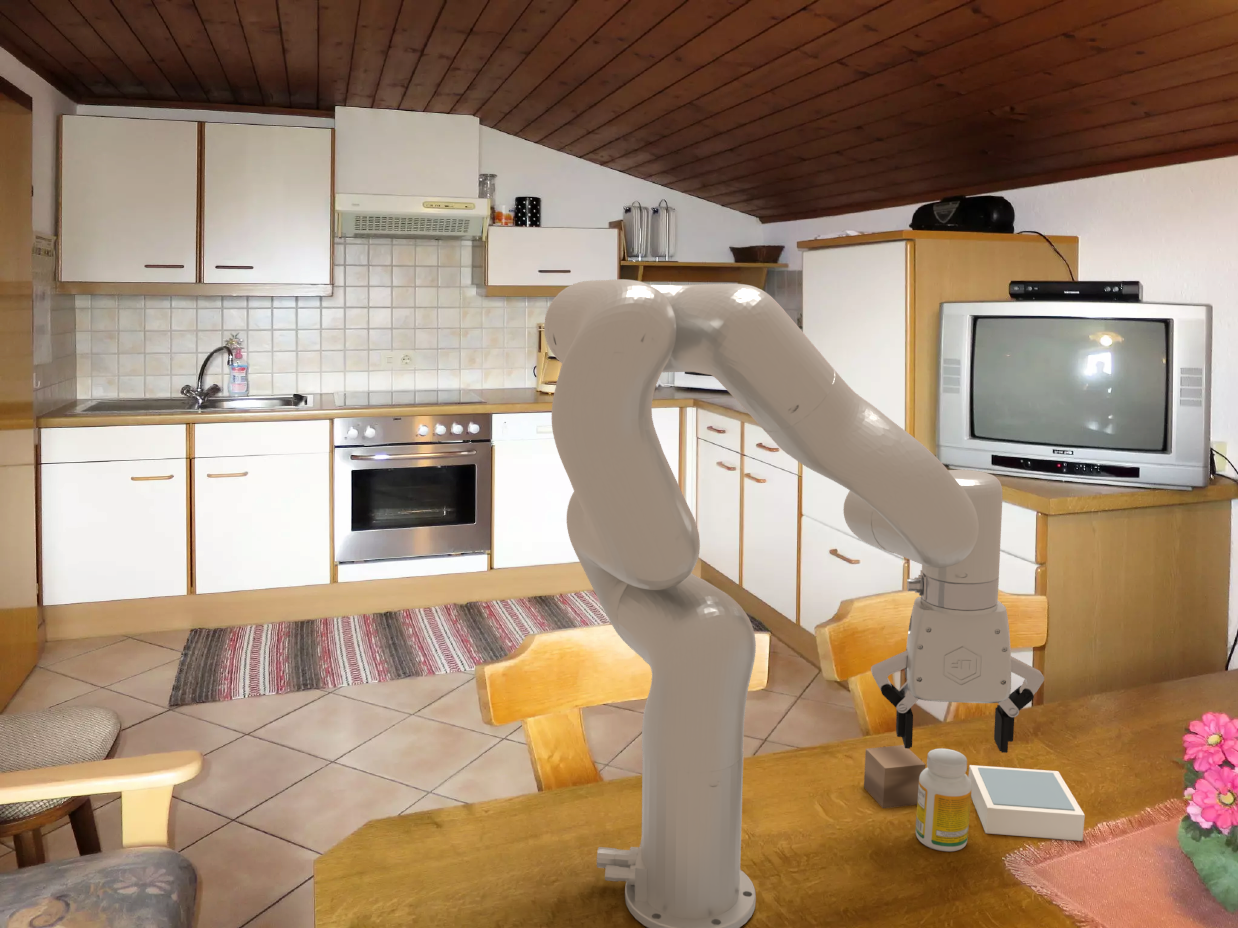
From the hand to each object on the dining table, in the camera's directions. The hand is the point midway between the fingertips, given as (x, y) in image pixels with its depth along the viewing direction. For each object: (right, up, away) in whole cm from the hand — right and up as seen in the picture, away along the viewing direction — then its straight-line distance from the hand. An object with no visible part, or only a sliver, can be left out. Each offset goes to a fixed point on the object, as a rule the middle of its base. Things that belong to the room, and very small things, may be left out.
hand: (953, 744), depth 105 cm
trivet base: (+10, -10, +7) cm, 16 cm away
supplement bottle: (-1, -11, +2) cm, 11 cm away
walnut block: (-3, -9, +11) cm, 15 cm away
